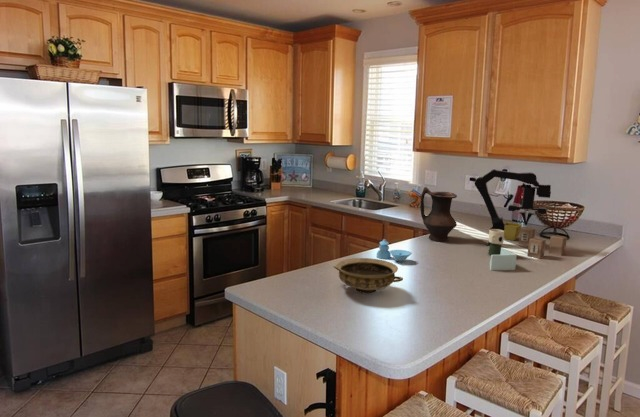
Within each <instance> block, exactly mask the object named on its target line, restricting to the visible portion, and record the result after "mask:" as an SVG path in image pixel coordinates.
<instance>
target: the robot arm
mask: <svg viewBox="0 0 640 417" xmlns="http://www.w3.org/2000/svg"><path fill="white" fill-rule="evenodd" d="M494 178H499V179H505V180H506V179H507V180H513V181H519V182H522V184H520V185H519V187H520V189H521V188H522V189H523V193H522V198H520V201H519V205H520V206H518V204H509V205H508V208H507V211H508V212H515V211H519V213H518V214H521V217H522V219H523V224H524V226H527V225H528V223H529V220H530V218H531V217H532V216H534V215H535V214H536V213H538V214H539V215H547V210H548V209H547V207H544V206H543V207H542V206H539V207H538V208H537V207H536V208H535V197H536V196H537V197H538V198H546V199H550V198H551V194H552V192H551V184H540V183H539V182H538V181H537V180H538V179H537V175H536V173H534V172H531V171H530V172H513V171H505V170H500V169H499V170H498V169H492V170H490V171H489V172H488V173H486V174H484V175H483V176H479V177H477V178H476V179H475V181H474V187H475V188H476V189H477V190H478V192H479V193H480V195H481V197H482V199H483V202H484V203H485V206H486V208H487V211H488V213H489V215H490V219H491V223H492V226H491V227H490V228H489V230H490V229H499V230H503V231H504V229H505V223H506V222H505V220H504V217H503V216H501V217H500V215H499V214H498V212H497V210H496V207H495V205H494V202H493V200H492V197H491V195H490V192H489V187H488V183H489V182H490V181H491V180H492V179H494ZM532 185H533V186H532ZM527 212H528V213H527ZM490 244H491V243H490V242H489V239H488V242H487V243H485V245H486V246H488V247H490ZM500 245H501V246H502V245H503V244H500Z"/></svg>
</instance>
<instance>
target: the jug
mask: <svg viewBox="0 0 640 417" xmlns="http://www.w3.org/2000/svg"><path fill="white" fill-rule="evenodd" d="M426 194H428V195H429V196H430V197H431V210H430V212H429V214H428V215H425V202H424V201H425V197H426ZM457 197H458V196H457V194H455V193H454V192H449V191H431V190H429V188H428V187H427V186H425V187H423V189H422V193H421V195H420V200H419V203H420V204H419V205H420V206H419V208H420V217H421V219H422V222H423V225H424V226H425V227H426V229H427V231H428V232H429V235H428V239H429V240H430V241H432V242H442V243H443V242H448V241H449V237H448V235H449V234H450V232H452V231H453V230H454V229H455V228H456V227H457V221H456V220H455V218H454V217H453V216H452V214H451V207H452V202H453V199H456V198H457Z"/></svg>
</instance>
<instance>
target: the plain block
mask: <svg viewBox="0 0 640 417" xmlns="http://www.w3.org/2000/svg"><path fill="white" fill-rule="evenodd" d="M567 238H568V237H567V236H561V235H558V234H557V235H556V234H555V235H551V236H550V239H549V246H548V247H549V248H548V254H550V255H556V256H560V257H561V256H563V255H566V246H567Z"/></svg>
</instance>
